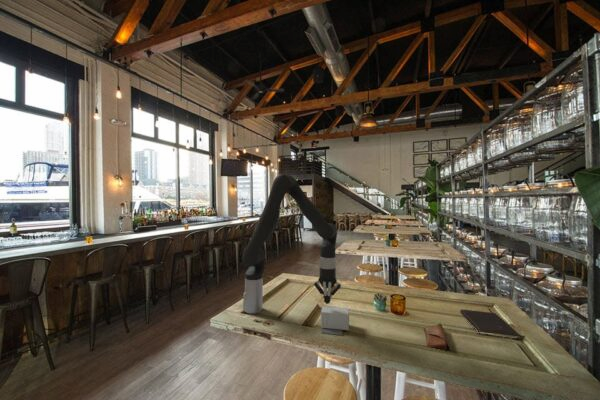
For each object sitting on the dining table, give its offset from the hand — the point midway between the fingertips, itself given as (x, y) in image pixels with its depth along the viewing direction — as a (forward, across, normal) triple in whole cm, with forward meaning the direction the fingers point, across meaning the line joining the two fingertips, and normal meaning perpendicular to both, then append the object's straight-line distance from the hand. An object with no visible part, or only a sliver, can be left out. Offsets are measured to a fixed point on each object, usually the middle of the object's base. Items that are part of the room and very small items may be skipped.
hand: (327, 303), depth 121 cm
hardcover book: (+12, +75, +19) cm, 79 cm away
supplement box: (+7, -3, 0) cm, 7 cm away
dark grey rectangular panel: (+11, +3, +1) cm, 11 cm away
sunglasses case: (+12, +47, 0) cm, 48 cm away
